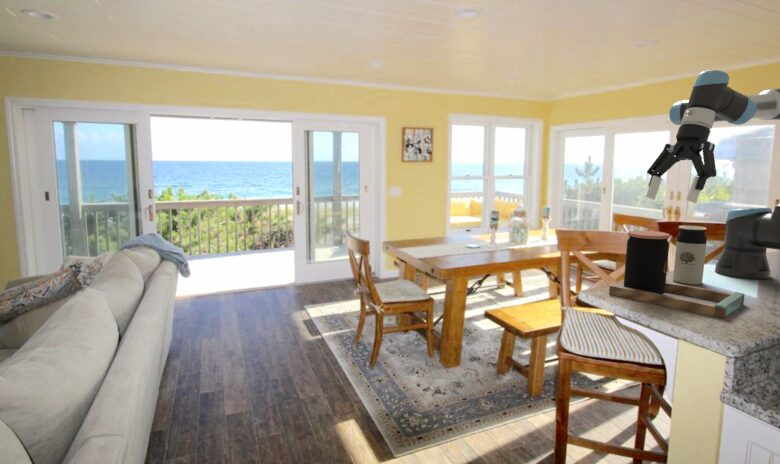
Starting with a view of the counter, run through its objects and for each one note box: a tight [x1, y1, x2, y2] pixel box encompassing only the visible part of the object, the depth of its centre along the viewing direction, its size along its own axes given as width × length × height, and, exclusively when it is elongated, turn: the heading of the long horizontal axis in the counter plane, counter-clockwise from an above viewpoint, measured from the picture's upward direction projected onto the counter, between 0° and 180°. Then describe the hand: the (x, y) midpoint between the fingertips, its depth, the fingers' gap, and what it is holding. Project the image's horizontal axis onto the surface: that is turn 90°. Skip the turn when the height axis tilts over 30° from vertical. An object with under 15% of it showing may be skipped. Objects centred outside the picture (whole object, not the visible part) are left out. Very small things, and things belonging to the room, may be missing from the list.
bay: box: [608, 281, 746, 319], centre depth 127 cm, size 28×18×3 cm, turn 40°
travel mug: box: [672, 225, 708, 286], centre depth 145 cm, size 8×8×18 cm
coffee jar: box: [623, 230, 671, 295], centre depth 132 cm, size 11×11×18 cm
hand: (669, 199), depth 127 cm, fingers open, 13 cm apart
